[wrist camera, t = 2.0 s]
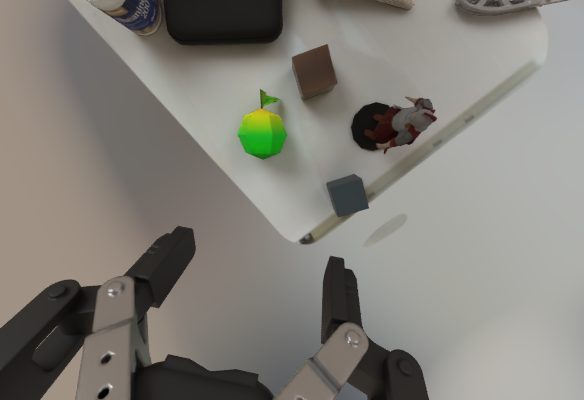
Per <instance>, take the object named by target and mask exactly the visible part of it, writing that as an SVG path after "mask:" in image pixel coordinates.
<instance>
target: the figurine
mask: <svg viewBox="0 0 584 400" xmlns="http://www.w3.org/2000/svg"><path fill="white" fill-rule="evenodd" d="M406 98H407V99H408V100H410V101H411V102H413V103H414V105H415V107H411V108H401V107H399V106H396V105H394V106H393V107H389V106H388V105H385V104H381V103H377V102H376V103H372V104H369V105H366V106H364V107H363V108H362V109H361V110H360V111H359V112H358V113H357V114H356V115H355V116H354V120H353V123H352V126H351V129H352V134H353V139H354V140H355V141H356V142H357V144H358V145H359V146H360V147H361V148H364V149H368V150H372V151H374V150H377V149H385V150H384V154H385V153H386V152H387V149H389V148H391V147H396V146H402V145H405V144H408V145H410V144H412V143H413V142H414V140H415V139H416V138H417V137H418V136H419V134H420V133H421V132H422V131H424V130H426V129H427V127H428V126H429V125H430V124H431V123H433V122H434V121H436V119H437V118H436V117H435V116H434V115H433V113H434V112H435V110H433V107H432V103H431V101H430V100H429V99H423V98H419V99H413V98H410V97H406Z"/></svg>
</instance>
